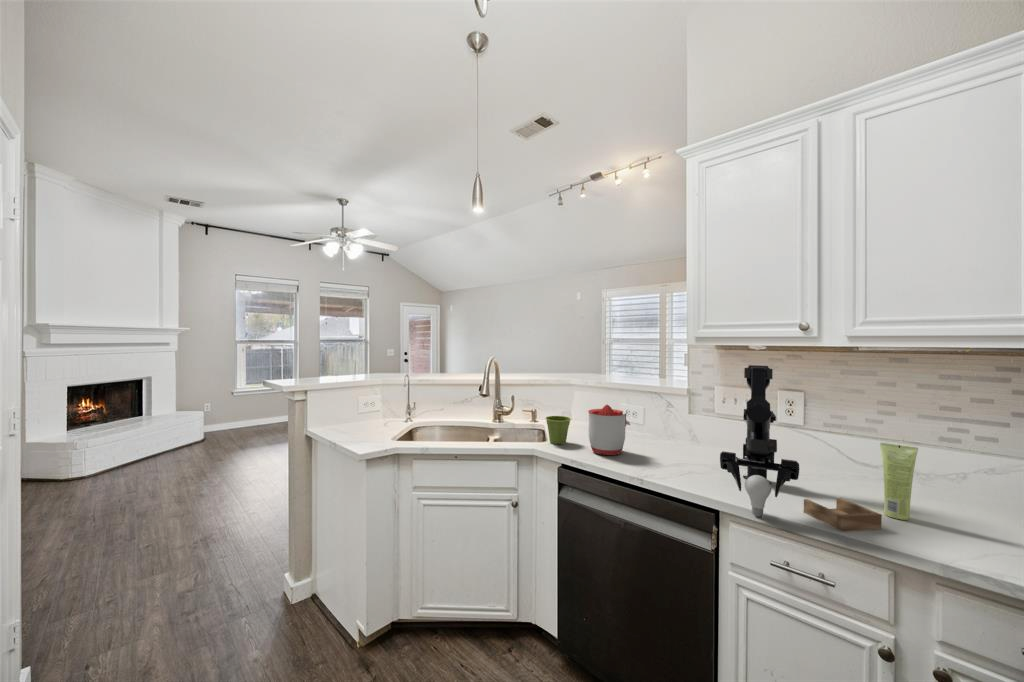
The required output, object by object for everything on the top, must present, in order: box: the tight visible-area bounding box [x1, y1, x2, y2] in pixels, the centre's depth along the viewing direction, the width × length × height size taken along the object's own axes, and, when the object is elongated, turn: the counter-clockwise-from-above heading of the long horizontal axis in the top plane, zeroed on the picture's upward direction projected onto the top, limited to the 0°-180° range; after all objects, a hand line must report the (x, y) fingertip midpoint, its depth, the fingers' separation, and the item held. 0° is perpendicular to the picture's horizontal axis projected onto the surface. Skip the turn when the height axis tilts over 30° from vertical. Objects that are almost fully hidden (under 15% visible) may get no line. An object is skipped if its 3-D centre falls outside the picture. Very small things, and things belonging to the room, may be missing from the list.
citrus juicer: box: [587, 404, 631, 456], centre depth 175 cm, size 16×17×20 cm
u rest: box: [803, 497, 883, 532], centre depth 110 cm, size 11×11×4 cm
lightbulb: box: [744, 475, 772, 518], centre depth 112 cm, size 6×6×11 cm
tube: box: [879, 442, 919, 521], centre depth 113 cm, size 6×5×20 cm
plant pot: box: [544, 415, 572, 445], centre depth 190 cm, size 12×12×11 cm
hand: (757, 493), depth 111 cm, fingers open, 8 cm apart
